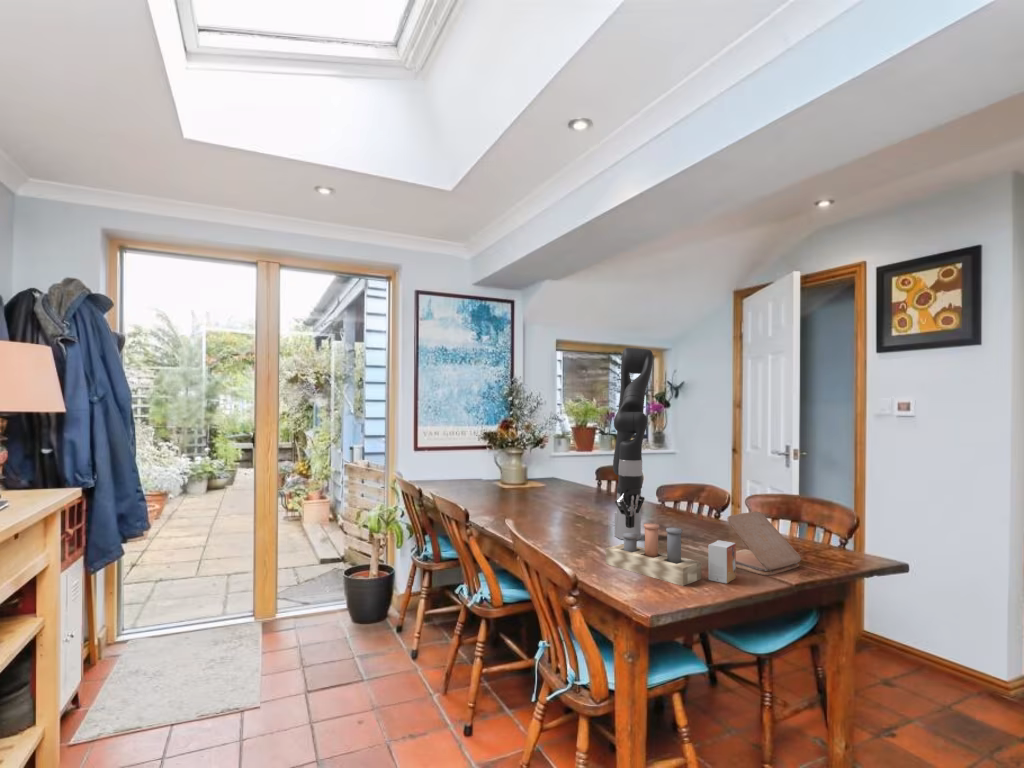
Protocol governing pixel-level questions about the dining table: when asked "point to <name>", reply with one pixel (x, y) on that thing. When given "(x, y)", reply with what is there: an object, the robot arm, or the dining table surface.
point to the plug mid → (651, 539)
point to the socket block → (654, 565)
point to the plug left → (630, 542)
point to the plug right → (674, 545)
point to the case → (762, 545)
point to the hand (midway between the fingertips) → (629, 527)
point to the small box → (722, 561)
